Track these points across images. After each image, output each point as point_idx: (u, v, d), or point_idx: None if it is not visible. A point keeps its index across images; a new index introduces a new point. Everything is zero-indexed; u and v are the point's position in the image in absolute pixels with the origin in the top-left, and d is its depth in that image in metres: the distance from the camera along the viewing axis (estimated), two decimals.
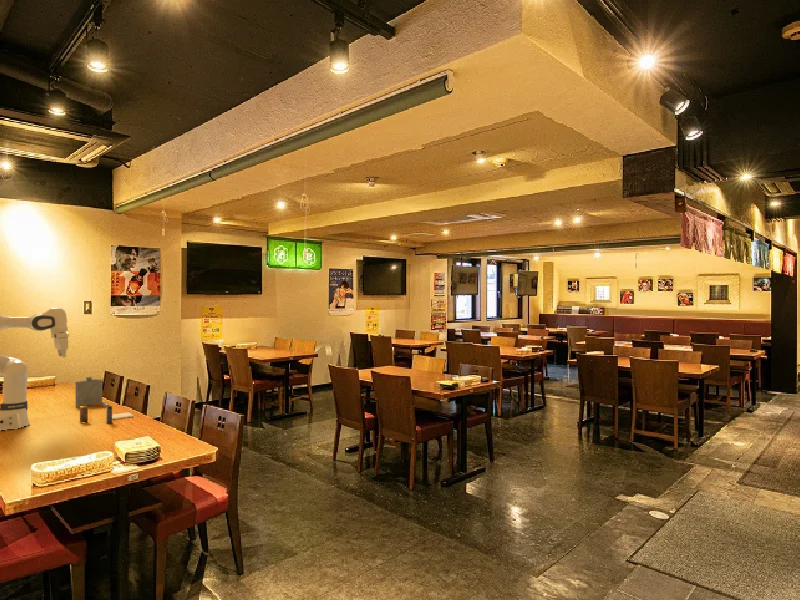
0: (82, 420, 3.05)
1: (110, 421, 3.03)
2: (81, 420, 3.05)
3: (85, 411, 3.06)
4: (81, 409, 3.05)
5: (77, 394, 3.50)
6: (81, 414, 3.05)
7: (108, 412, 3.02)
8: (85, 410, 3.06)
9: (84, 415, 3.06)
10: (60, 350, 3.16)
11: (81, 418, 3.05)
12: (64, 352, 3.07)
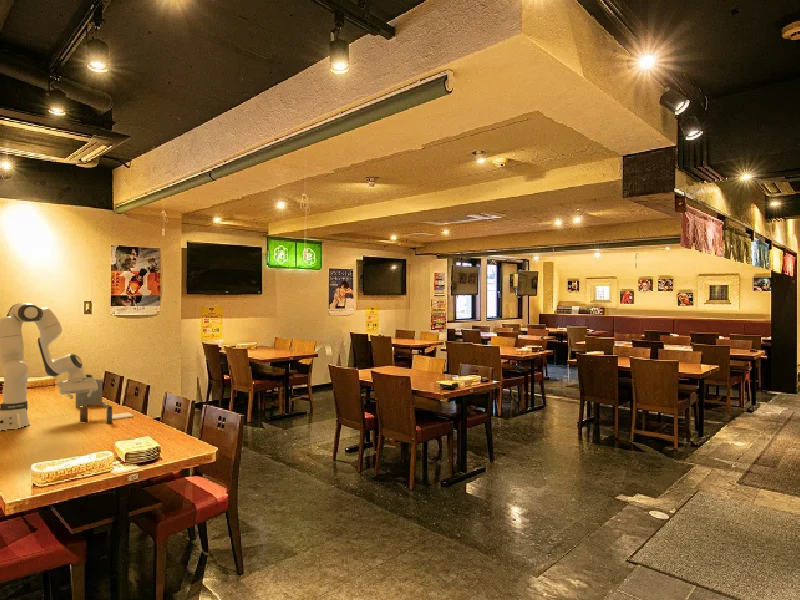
0: (82, 420, 3.05)
1: (110, 421, 3.03)
2: (81, 420, 3.05)
3: (85, 411, 3.06)
4: (81, 409, 3.05)
5: (77, 394, 3.50)
6: (81, 414, 3.05)
7: (108, 412, 3.02)
8: (86, 410, 3.06)
9: (84, 415, 3.06)
10: None
11: (81, 418, 3.05)
12: (91, 392, 3.20)
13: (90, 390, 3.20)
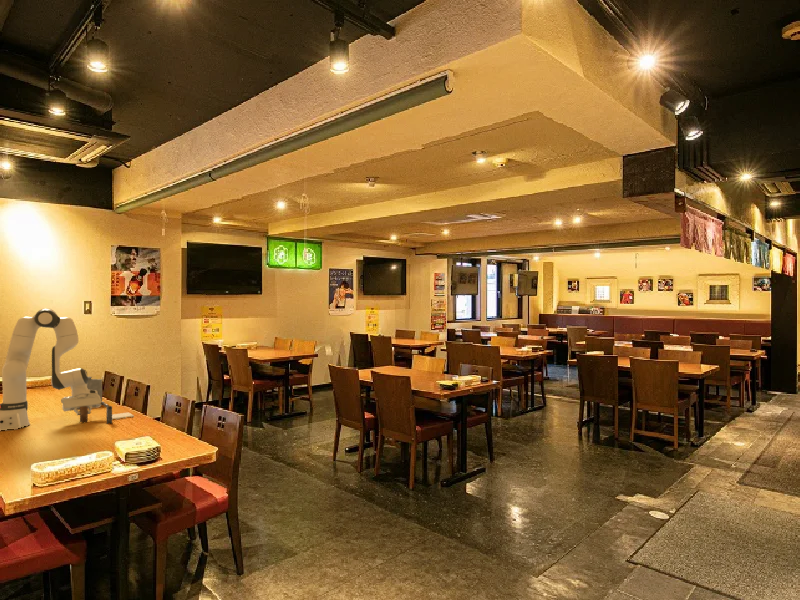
0: (82, 420, 3.05)
1: (110, 421, 3.03)
2: (81, 420, 3.05)
3: (85, 411, 3.06)
4: (81, 409, 3.05)
5: None
6: (81, 414, 3.05)
7: (108, 412, 3.02)
8: (85, 410, 3.06)
9: (84, 415, 3.06)
10: None
11: (81, 418, 3.05)
12: None
13: (90, 407, 3.10)
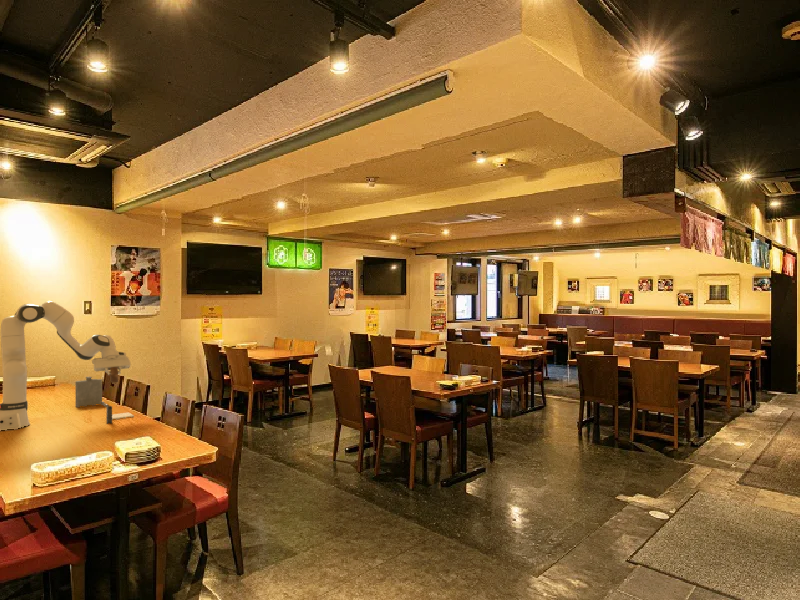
0: (113, 380, 3.16)
1: (110, 421, 3.03)
2: (112, 380, 3.16)
3: (115, 371, 3.17)
4: (112, 369, 3.16)
5: (77, 394, 3.50)
6: (112, 374, 3.16)
7: (108, 412, 3.02)
8: (116, 370, 3.17)
9: (115, 375, 3.17)
10: None
11: (112, 378, 3.16)
12: (120, 370, 3.22)
13: (120, 367, 3.21)
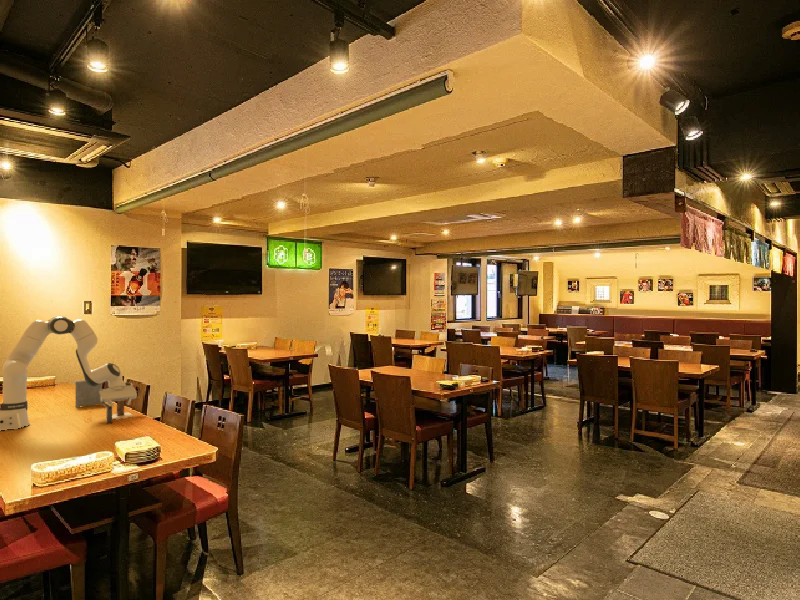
0: (119, 413, 3.19)
1: (110, 421, 3.03)
2: (118, 413, 3.19)
3: (122, 405, 3.19)
4: (118, 403, 3.19)
5: (77, 394, 3.50)
6: (118, 408, 3.19)
7: (108, 412, 3.02)
8: (122, 404, 3.20)
9: (121, 408, 3.19)
10: None
11: (118, 411, 3.19)
12: (130, 400, 3.26)
13: (130, 398, 3.25)
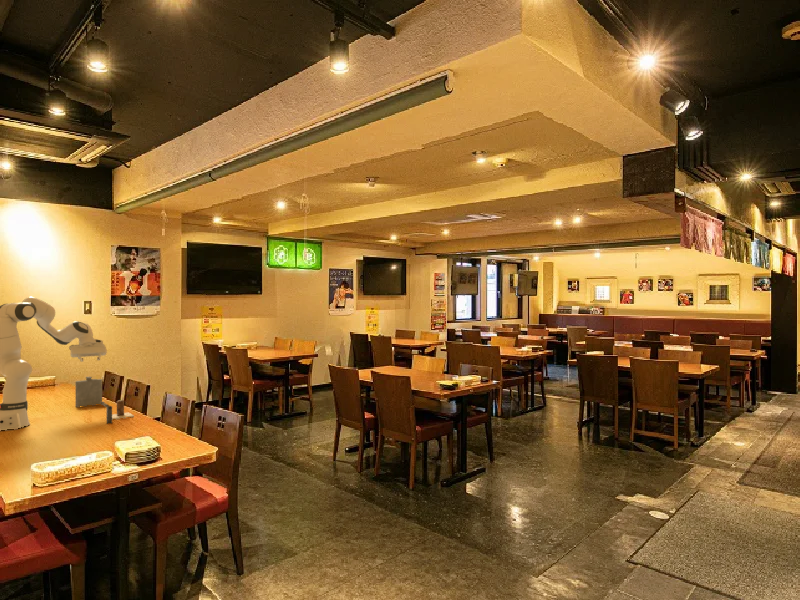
0: (119, 413, 3.19)
1: (110, 421, 3.03)
2: (118, 413, 3.19)
3: (122, 405, 3.19)
4: (118, 403, 3.19)
5: (77, 394, 3.50)
6: (118, 408, 3.19)
7: (108, 412, 3.02)
8: (122, 404, 3.20)
9: (121, 408, 3.19)
10: None
11: (118, 411, 3.19)
12: (100, 356, 3.36)
13: (99, 354, 3.35)
